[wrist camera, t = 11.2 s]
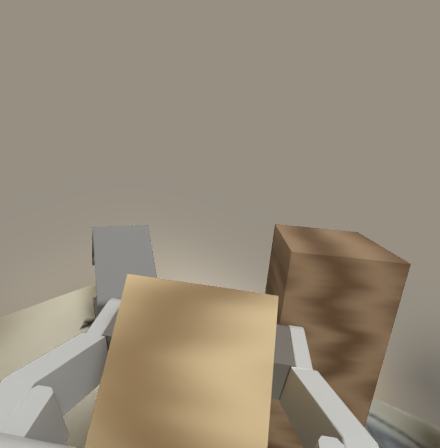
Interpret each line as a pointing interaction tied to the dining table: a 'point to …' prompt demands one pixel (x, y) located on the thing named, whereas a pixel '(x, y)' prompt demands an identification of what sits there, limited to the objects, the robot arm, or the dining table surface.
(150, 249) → the phone stand
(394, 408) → the dining table surface
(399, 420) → the dining table surface
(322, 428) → the robot arm
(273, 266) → the walnut stand
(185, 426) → the light wooden block
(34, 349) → the dining table surface
